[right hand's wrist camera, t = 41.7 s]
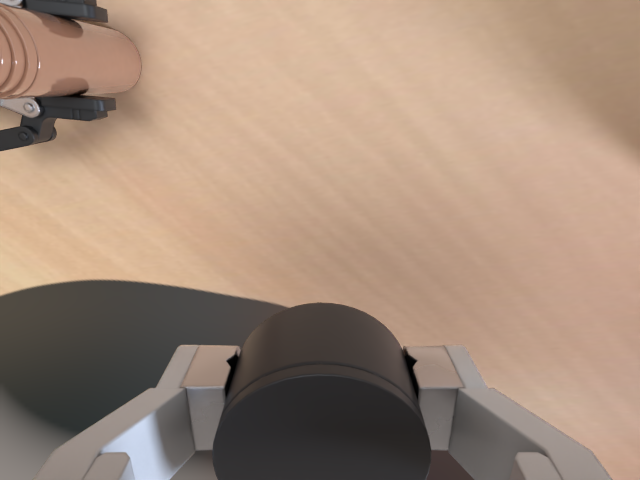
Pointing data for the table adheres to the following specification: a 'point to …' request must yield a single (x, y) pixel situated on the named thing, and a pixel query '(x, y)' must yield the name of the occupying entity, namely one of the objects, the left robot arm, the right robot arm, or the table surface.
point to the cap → (321, 402)
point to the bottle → (61, 56)
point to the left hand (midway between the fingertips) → (104, 61)
